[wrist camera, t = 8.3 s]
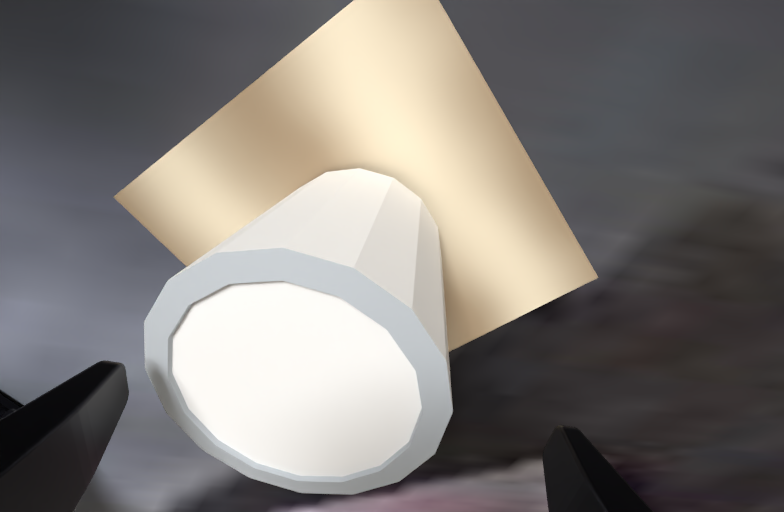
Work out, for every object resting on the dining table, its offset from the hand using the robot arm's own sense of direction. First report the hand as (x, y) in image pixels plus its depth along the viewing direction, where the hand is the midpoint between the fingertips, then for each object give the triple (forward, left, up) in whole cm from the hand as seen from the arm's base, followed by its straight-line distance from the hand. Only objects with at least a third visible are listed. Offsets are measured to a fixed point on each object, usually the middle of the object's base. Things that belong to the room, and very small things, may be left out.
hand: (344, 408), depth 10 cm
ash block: (0, 0, -12) cm, 12 cm away
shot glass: (0, 0, -8) cm, 7 cm away
